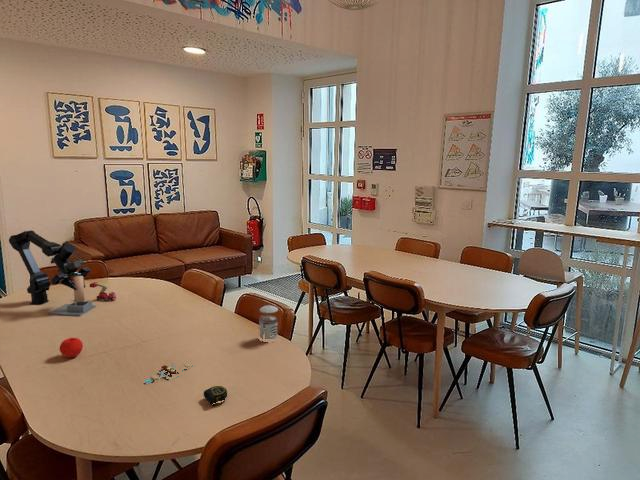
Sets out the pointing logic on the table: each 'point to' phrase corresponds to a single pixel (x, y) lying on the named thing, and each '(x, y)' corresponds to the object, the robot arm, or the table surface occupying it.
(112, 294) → the toy fire truck
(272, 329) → the french press
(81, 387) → the table surface
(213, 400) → the tape measure
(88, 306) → the jig cradle
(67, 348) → the apple
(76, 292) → the peg
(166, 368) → the gear mechanism
